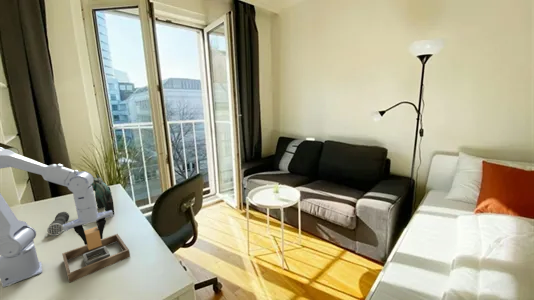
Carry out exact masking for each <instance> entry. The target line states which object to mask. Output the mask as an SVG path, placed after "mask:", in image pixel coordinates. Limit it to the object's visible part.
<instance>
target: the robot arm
mask: <svg viewBox="0 0 534 300" xmlns="http://www.w3.org/2000/svg"><path fill="white" fill-rule="evenodd" d="M7 168H14V169H18V170H22V171H25V172H29V173H33V174H37V175H41V176H42V178H43V180H44V181H47V182H50V183H53V184H55V185H60V186H64V187H66V188H67V189H68V190H69V191H70V192H71V193H72V195H73V200H74V201H73V202H74V206H75V210H76V215H77V218H76V219H74V220H72V221H68V222H66V223H65V224H63V232H67V231H69V230H72V229H73V230H74V232H75V233H76V234H77V235H78V236H79V237H80V238H81V240H82V241H83V243H84V246H85V245H87V240H86V237H85V232H84V231H85V229H84V226H85V225H88V224H90V223H94V222H96V225H97V226H96V227H97V228H98V230H99V233H100V238H101V239H104V238H103V237H104V235H103V234H104V230H105V226H106V224H107V218H112V217H114V215H113V212H112V210H110V211H106V212H105V211H102V212H98V208H97V204H96V198H95V191H93V187H92V185H91V184H92V183H93V180H94V178H95V177H94V175H92V174H91V173H90V172H88V171H85V170H82V171H79V170H78V169H75V170H74V169H72V168H68V167H65V166H64V164H61V163H58V164H56V163H52V164H49V165H47V164H44V163H42V162H39V161H37V160H35V159H32V158H30V157H26V156H24V155H21V154H19V153H16V152H14V151H13V150H11V149H7V148H4V147H1V146H0V169H7ZM93 177H94V178H93ZM36 237H37V231H36V229H35V228H33V227H31V226H30V225H28V223H27V221H23V220H19V219H18V218H17V216H16V214H15V213H14V212H13V210H12V208H11V207H10V205H9V204H8V202H7V201H6V199H5V198H4V196H3V195H2V193H1V192H0V282H1V284H2V286H1V287H2V288H6V287H8V286H11V285H13V284H14V285H15V284H16V283H19V282H21V281H24V280H26V279H29V278H32V277H34V276H37V275H40V274H41V273H43V266H42V265H43V264H42V261H39V257H38V254H37V249H36V247H35V242H34V240H35V239H36Z"/></svg>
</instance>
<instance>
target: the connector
mask: <svg viewBox="0 0 534 300" xmlns="http://www.w3.org/2000/svg"><path fill="white" fill-rule="evenodd" d="M84 232H85V237H86V240H87V247H88V249H89V250H91V249H93V248H96V247H99V246H101V245H102V243H101V238H100V233H99V230H98V227H97V226H93V227H92V228H89V229H86V230H85V229H84Z"/></svg>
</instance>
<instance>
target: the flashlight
mask: <svg viewBox="0 0 534 300" xmlns="http://www.w3.org/2000/svg"><path fill="white" fill-rule="evenodd" d="M69 219H70V213H69V212H67V211H61V212H58V213H57V214H56V215H55V217H54V220H52V222H51V223H50V224H49V226H48V227H47V230H46V231H47V234H49V235H51V236H57V235H61V234H62V232H64V229H63V224H66V223H68V222H69Z"/></svg>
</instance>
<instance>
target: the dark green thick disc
mask: <svg viewBox="0 0 534 300" xmlns="http://www.w3.org/2000/svg"><path fill="white" fill-rule="evenodd" d="M93 178H94V180H93V183H92V184H91V185H92V187H93V192H94V196H95V201H96V206H97V209H104V212H106V211H110V210H112V212H113V216H114V215H115V206H114V199H113V195H112V190H111V187H110V186H108V185H107V184H106V183H105V182H104V181H103V178H102V177H100V176H99V174H96V177H95V176H93ZM91 185H90V186H91Z"/></svg>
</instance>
